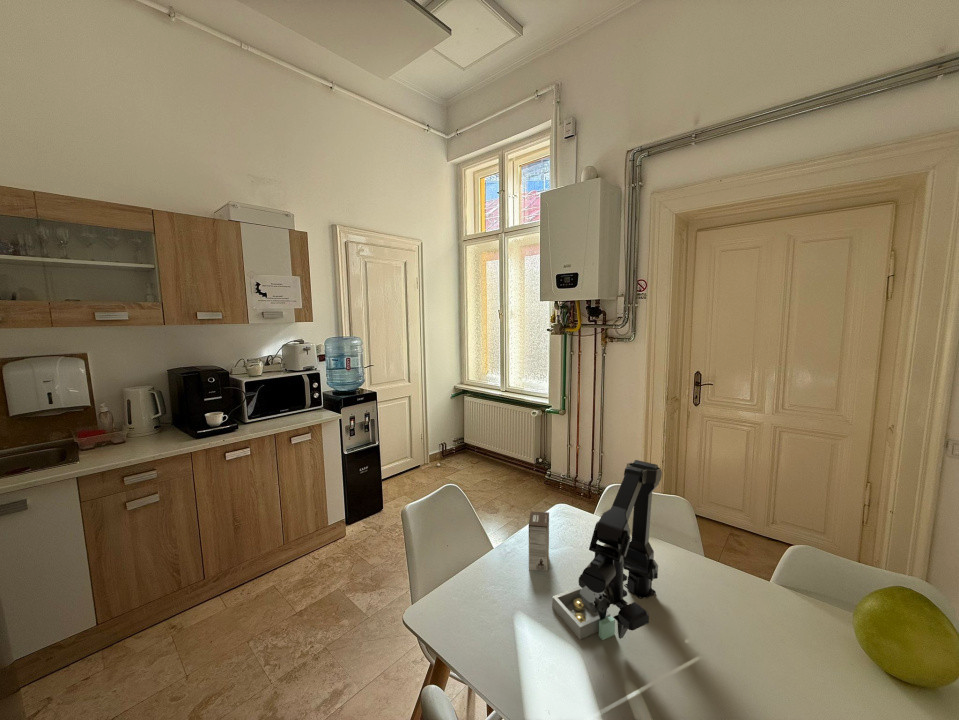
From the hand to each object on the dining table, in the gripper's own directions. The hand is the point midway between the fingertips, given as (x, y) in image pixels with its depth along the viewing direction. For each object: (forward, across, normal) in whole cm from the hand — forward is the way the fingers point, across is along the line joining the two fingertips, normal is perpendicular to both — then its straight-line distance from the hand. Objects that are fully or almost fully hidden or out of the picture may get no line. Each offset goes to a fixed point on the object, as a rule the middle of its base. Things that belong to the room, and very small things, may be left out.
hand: (611, 629), depth 99 cm
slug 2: (+3, -8, -4) cm, 9 cm away
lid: (+4, +3, 0) cm, 5 cm away
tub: (+3, -10, -2) cm, 10 cm away
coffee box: (+2, -35, +1) cm, 35 cm away
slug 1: (+3, -12, 0) cm, 12 cm away
